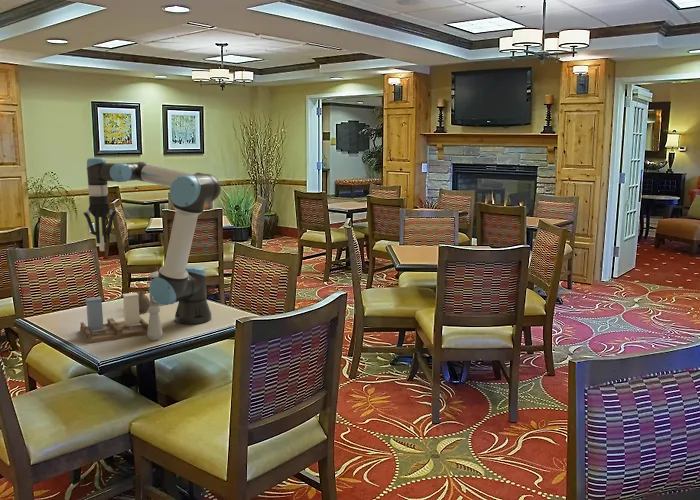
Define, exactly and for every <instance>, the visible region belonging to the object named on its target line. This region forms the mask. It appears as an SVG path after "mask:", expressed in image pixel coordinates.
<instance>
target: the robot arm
mask: <svg viewBox="0 0 700 500" xmlns="http://www.w3.org/2000/svg"><path fill="white" fill-rule="evenodd" d="M86 170H87V171H86V172H87V174H86V175H87V185H88V195H89V196H88V203H89V206H88V209H87V210H86V211H83V212H82V214H83V215H84V217H85V218H86V222H87V225H88V228H89V231H90V234H91V235H93V236H95V238H96V239H95V241H96V243H97V244H98V245H99V246H98V247H99V251H100V252H105V244H106V243H107V235H109V234H111V232H112V227H113V222H114V216H116V213H117V211H115V210H113V209H111V207H110V205H109V203H110V202H109V196H108V194H109V191H108V189H109V188H108V182H114V183H115V182H116V183H125V182H130V181H139V182H143V183H149V184H152V185H158V186H161V187H167V188H169V197H170V200H171V202H172V207H173V208H174V210H175V213H174V217H173V223H172V227H171V232H170V237H169V242H168V245H167V251H166V256H165V260H164V265H162V266H161V267H160V268H159V270H158V272H159V273H158V277H157V278H154V279H153V280H150V282H149V287H150V291H149V294H150V293H151V295H152V296H153V297H152V298H153V299H154V300H155V301H156V302H157V303H159V304H161V305H163V306H168V305H173V304H176V303H177V307H176V311H175V315H174V321H175V322H176V323H178V324H183V325H199V324H205V323H207V322H210V320H212V311H211V308H210V307H209V304H208V299H207V298H208V297H207V273H206V269H205V268H204V267H201V266H195V265H194V266H189V265H188V262H189V257H190V252H191V248H192V245H193V239H194V234H195V230H196V228H197V227H196V226H197V221H198V217H199V216H200V215H201V214H202V213H204V208H205V204H208V203H213V202H214V201H216V200H217V199H218V198H219V196H220V194H221V191H222V188H221V185H222V184H221V182H220V181H219V179H218V178H217V177H216V176H215V175H213V174H210V173H202V172H195V173H190V172H185V171H182V170H181V171H180V170H176V169H170V168H166V167H162V166H157V165H151V164H149V163H148V162H143V161H139V162H138V161H137V162H114V163H113V162H112V163H111V162H107V159H106V158H105V157H89V158H88V159H87V160H86ZM108 213H109V217H108V223H107V224H106V221H107V220H106V218H107V215H108ZM90 215H92V216H93V218H94V225H93V223H92V219H91V217H90ZM100 221H101V232H100ZM106 225H107V226H106ZM94 227H95V228H94ZM100 233H101V234H100Z"/></svg>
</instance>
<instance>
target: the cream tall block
mask: <svg viewBox="0 0 700 500" xmlns="http://www.w3.org/2000/svg"><path fill="white" fill-rule="evenodd" d="M138 297H139V294H138V292H136V291H135V292H130V293H129V292H128V293H122V299H123V313H124V314H123V315H124V316H123V317H124V321H125V325H126V326H127V327H128V325H134V324H140V317H141V316H140V313H139V299H138ZM139 316H140V317H139Z"/></svg>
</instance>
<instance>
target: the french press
mask: <svg viewBox="0 0 700 500" xmlns="http://www.w3.org/2000/svg"><path fill="white" fill-rule="evenodd" d="M153 254H154V255H155V256H156V260H155V261H156V262H158V256H157V255H158V254H159V251H157V250H156V251H154V253H153ZM158 273H159V270H156V271H153V272H150V274H148V278H147V280H146V283H148V281H152V280H154V279H155V278H157V277H158ZM152 278H153V279H152ZM149 279H150V280H149ZM146 287H147V290H148V292H149V301H150V306H158V307H163V306H164V305H161V304H159V303H157V302H156V301H155V300H154V299H153V296H152V295H151V293H150V286H148V284H146Z"/></svg>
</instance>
